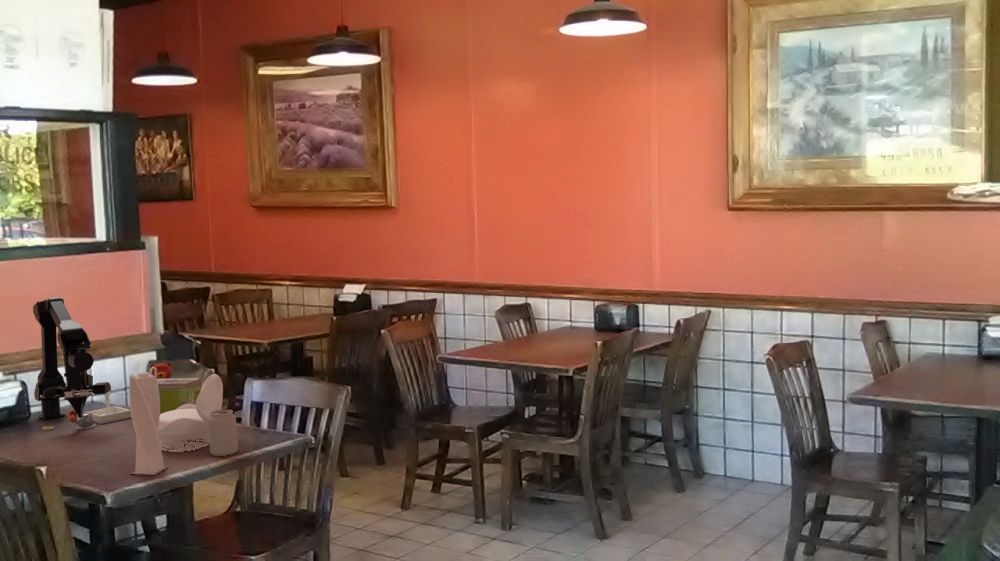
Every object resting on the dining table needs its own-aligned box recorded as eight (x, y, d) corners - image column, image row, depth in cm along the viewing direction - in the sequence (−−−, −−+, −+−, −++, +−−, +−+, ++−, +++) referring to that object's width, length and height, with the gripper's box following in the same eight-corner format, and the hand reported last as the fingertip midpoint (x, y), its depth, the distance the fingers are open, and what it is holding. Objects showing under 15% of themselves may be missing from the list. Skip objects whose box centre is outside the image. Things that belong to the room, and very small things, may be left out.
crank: (82, 423, 331) (80, 402, 330) (95, 422, 331) (94, 402, 330) (63, 432, 319) (61, 411, 318) (77, 432, 318) (75, 411, 318)
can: (242, 450, 292) (239, 408, 291) (232, 457, 285) (229, 414, 283) (216, 450, 293) (213, 408, 292) (206, 457, 285) (203, 414, 284)
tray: (85, 419, 339) (85, 412, 339) (116, 413, 347) (115, 406, 347) (100, 424, 332) (100, 416, 332) (132, 417, 340) (131, 410, 339)
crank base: (71, 427, 329) (71, 426, 329) (91, 423, 333) (91, 422, 333) (80, 430, 324) (80, 429, 324) (100, 426, 329) (100, 425, 329)
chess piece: (102, 416, 341) (100, 386, 340) (118, 415, 342) (115, 385, 341) (98, 419, 337) (96, 388, 336) (114, 418, 337) (112, 388, 336)
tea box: (205, 423, 328) (202, 376, 326) (190, 431, 318) (187, 383, 316) (161, 423, 330) (157, 377, 329) (145, 430, 320) (141, 383, 319)
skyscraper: (173, 468, 276) (165, 364, 273) (157, 477, 268) (149, 369, 265) (144, 467, 278) (136, 364, 275) (127, 476, 270) (119, 369, 267)
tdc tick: (53, 428, 328) (53, 425, 328) (52, 429, 327) (52, 426, 327) (43, 429, 328) (43, 426, 328) (42, 430, 327) (42, 427, 327)
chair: (159, 440, 308) (154, 373, 306) (228, 434, 312) (223, 368, 310) (151, 457, 288) (145, 386, 286) (224, 450, 292) (219, 380, 290)
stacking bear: (144, 422, 332) (140, 367, 331) (148, 415, 342) (144, 361, 341) (180, 419, 335) (176, 364, 333) (183, 412, 345) (179, 359, 343)
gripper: (114, 361, 328) (119, 409, 329) (54, 366, 327) (59, 414, 328) (102, 367, 317) (107, 417, 318) (40, 372, 316) (46, 422, 317)
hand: (80, 417), depth 321 cm, fingers closed
